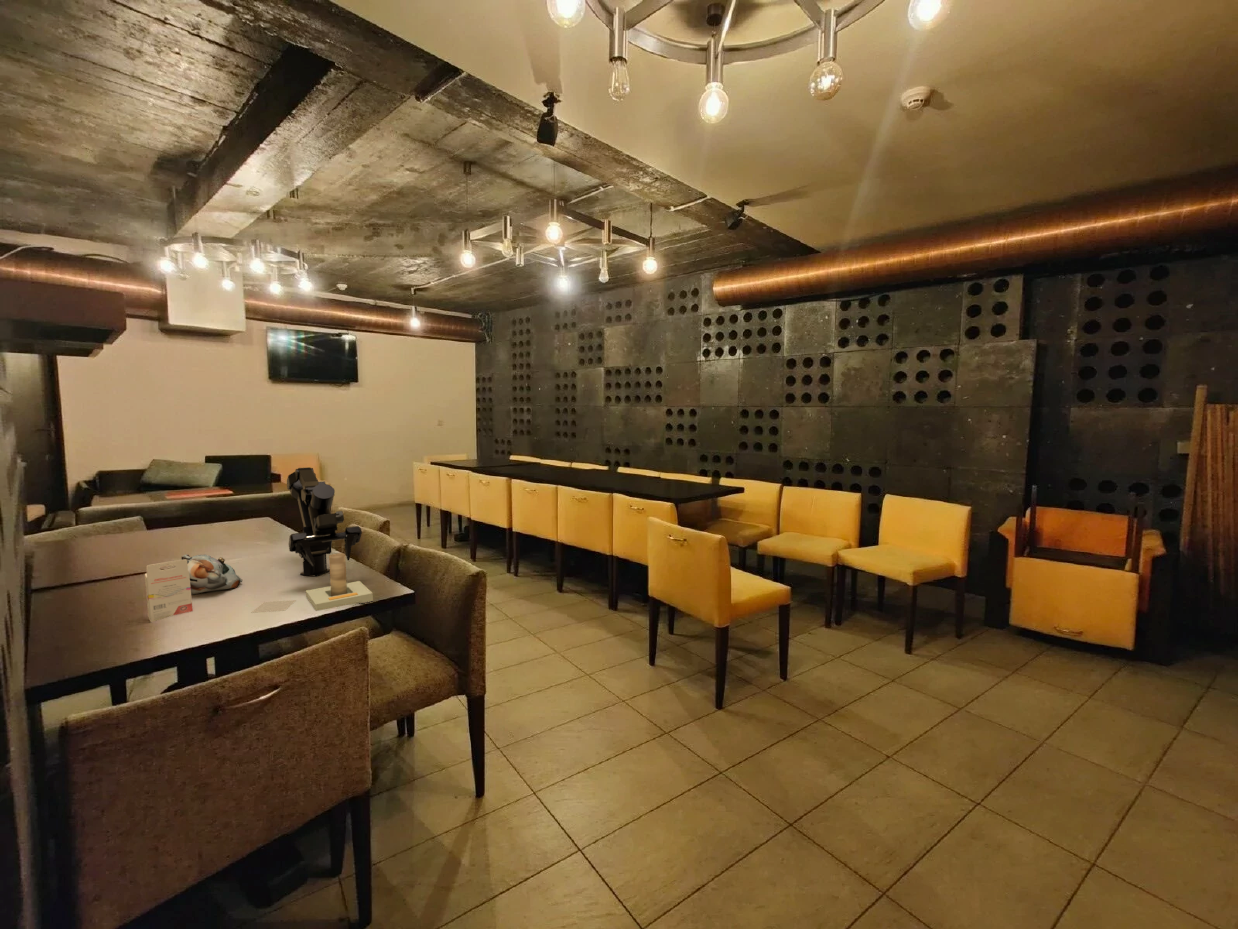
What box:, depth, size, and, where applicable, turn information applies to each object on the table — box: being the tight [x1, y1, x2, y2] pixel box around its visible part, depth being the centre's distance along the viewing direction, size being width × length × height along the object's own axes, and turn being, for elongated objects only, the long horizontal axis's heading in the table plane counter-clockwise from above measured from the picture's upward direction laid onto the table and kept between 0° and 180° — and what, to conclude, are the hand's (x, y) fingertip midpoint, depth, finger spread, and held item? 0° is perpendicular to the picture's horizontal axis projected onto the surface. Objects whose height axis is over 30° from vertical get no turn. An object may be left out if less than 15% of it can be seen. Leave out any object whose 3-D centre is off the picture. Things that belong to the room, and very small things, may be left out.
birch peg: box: [328, 552, 348, 597], centre depth 150 cm, size 4×4×13 cm
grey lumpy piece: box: [180, 553, 243, 595], centre depth 157 cm, size 15×12×14 cm
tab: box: [250, 599, 297, 614], centre depth 144 cm, size 8×8×1 cm
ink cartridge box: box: [144, 559, 194, 623], centre depth 138 cm, size 9×5×15 cm, turn 136°
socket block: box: [305, 580, 374, 612], centre depth 150 cm, size 14×14×3 cm
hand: (331, 562), depth 156 cm, fingers open, 9 cm apart
